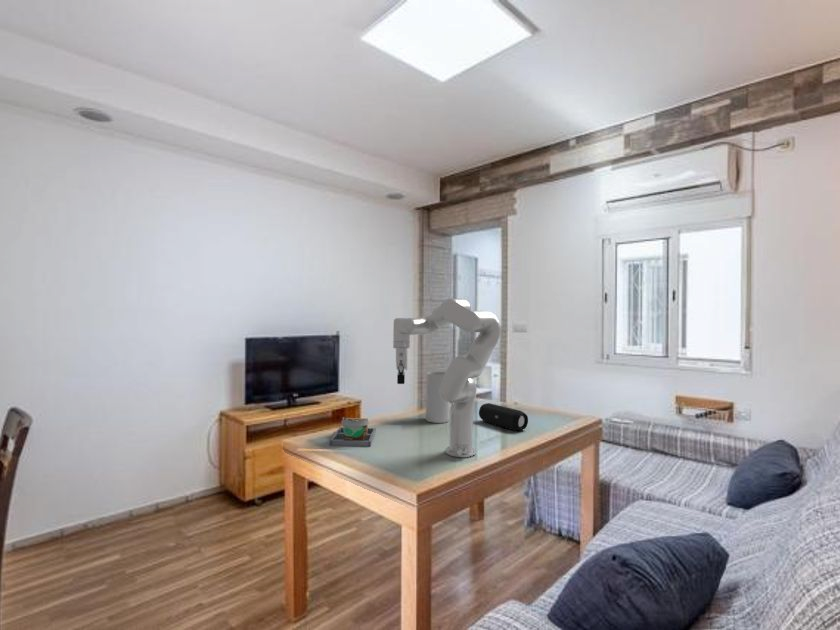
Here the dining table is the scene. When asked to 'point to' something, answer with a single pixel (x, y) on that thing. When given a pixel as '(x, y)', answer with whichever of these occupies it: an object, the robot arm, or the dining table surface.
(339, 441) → the tray
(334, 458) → the dining table surface
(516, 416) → the portable speaker
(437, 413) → the cylinder vase
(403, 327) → the robot arm
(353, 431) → the food container
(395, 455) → the dining table surface
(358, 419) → the tan rectangular block
